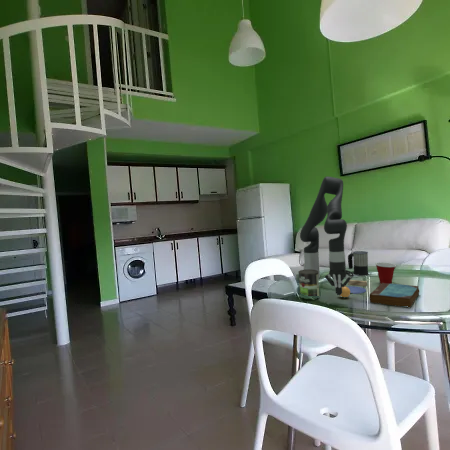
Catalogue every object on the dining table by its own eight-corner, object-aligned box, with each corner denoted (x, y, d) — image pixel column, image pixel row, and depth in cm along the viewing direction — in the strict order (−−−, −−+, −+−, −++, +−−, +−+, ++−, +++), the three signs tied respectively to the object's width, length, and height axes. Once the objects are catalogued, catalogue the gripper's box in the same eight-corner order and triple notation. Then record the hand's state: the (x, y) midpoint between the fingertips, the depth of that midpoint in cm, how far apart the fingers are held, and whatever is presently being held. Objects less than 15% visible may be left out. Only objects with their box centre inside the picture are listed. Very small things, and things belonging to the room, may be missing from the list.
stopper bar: (348, 284, 192) (348, 280, 191) (349, 283, 193) (349, 279, 193) (366, 286, 186) (366, 282, 186) (367, 285, 187) (366, 281, 187)
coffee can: (311, 301, 166) (310, 274, 165) (295, 297, 174) (294, 271, 173) (323, 296, 172) (322, 270, 171) (308, 293, 181) (306, 268, 180)
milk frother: (370, 273, 214) (370, 251, 213) (363, 278, 202) (362, 255, 201) (349, 271, 223) (348, 250, 222) (340, 276, 211) (339, 254, 210)
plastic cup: (399, 286, 180) (398, 265, 180) (378, 287, 183) (377, 266, 182) (393, 281, 191) (392, 261, 190) (373, 282, 193) (373, 262, 192)
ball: (336, 298, 168) (336, 287, 168) (340, 295, 173) (339, 284, 172) (348, 300, 164) (348, 288, 164) (352, 296, 169) (351, 285, 169)
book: (382, 291, 176) (381, 282, 176) (419, 295, 165) (419, 286, 164) (369, 303, 159) (369, 293, 158) (410, 309, 147) (410, 298, 147)
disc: (335, 292, 179) (335, 291, 179) (343, 285, 190) (343, 285, 190) (362, 294, 171) (362, 294, 171) (368, 288, 182) (368, 287, 182)
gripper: (353, 259, 158) (355, 294, 160) (326, 258, 166) (328, 291, 167) (348, 262, 152) (350, 298, 154) (321, 260, 160) (323, 295, 161)
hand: (339, 294), depth 161 cm, fingers closed
